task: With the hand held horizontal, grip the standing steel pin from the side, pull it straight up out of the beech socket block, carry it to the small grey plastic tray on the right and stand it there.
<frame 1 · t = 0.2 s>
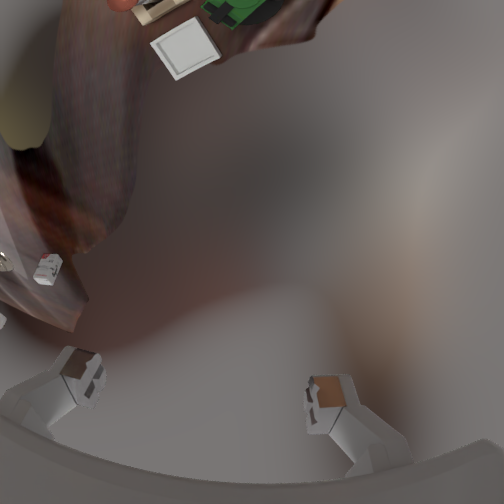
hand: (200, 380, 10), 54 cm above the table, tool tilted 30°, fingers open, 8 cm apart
tray: (187, 46, 43), on the table
lamp: (3, 258, 99), on the table
ink box: (53, 256, 96), on the table
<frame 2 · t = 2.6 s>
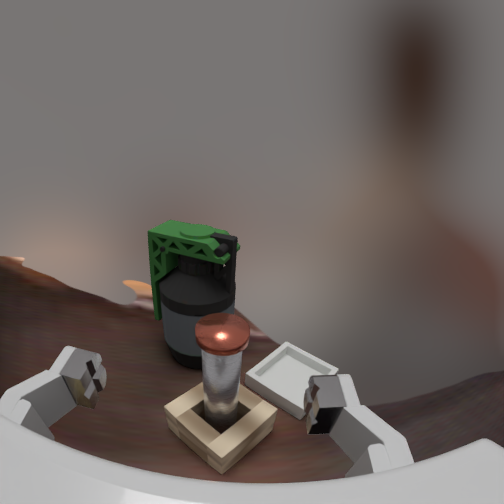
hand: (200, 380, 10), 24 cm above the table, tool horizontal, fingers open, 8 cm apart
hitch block: (220, 431, 31), on the table
grenade: (191, 347, 45), on the table
tray: (291, 383, 39), on the table
pin: (221, 391, 27), in the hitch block
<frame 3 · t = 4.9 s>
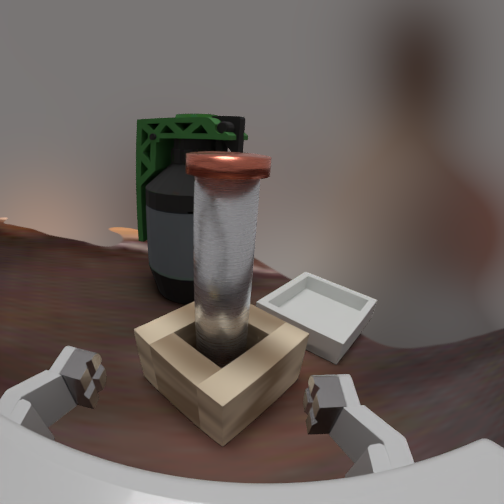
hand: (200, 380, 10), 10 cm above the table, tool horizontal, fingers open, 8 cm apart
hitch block: (220, 380, 22), on the table
grenade: (183, 283, 36), on the table
tray: (317, 321, 30), on the table
pin: (222, 292, 19), in the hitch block
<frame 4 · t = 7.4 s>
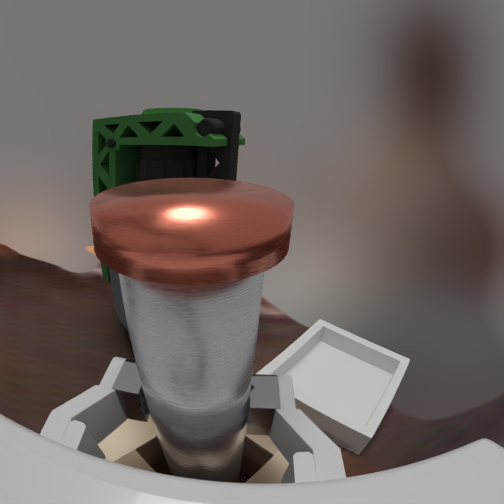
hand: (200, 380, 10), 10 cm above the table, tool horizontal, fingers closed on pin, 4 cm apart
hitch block: (207, 486, 13), on the table
grenade: (164, 330, 27), on the table
tray: (334, 389, 22), on the table
pin: (199, 420, 10), in the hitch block, touching gripper
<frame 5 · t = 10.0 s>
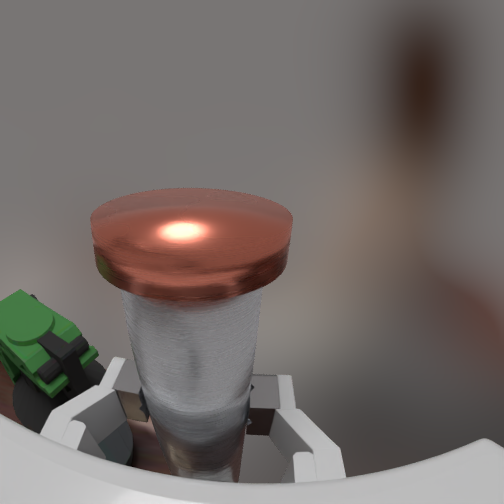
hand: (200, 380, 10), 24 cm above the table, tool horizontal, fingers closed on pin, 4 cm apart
grenade: (90, 447, 25), on the table
pin: (199, 424, 10), point 22 cm above the table, touching gripper
when the fingers open (12 cm above the table, at t = 12.6 s): pin stays where it is, resting on tray.
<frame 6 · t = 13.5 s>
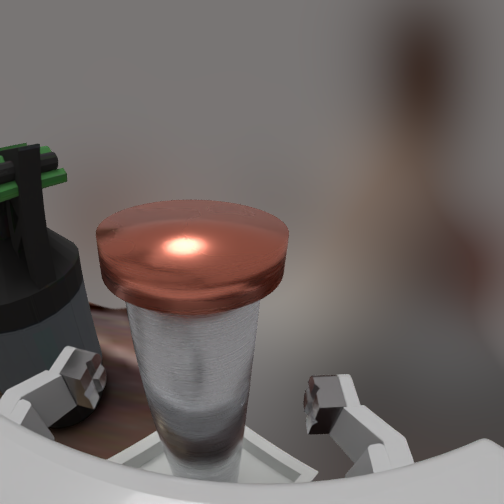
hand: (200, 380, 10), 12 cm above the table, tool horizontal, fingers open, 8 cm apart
grenade: (51, 382, 20), on the table
tray: (208, 490, 14), on the table
pin: (200, 425, 10), in the tray, point 9 cm above the table
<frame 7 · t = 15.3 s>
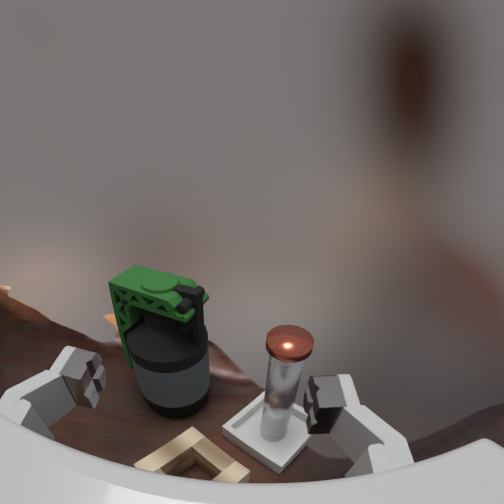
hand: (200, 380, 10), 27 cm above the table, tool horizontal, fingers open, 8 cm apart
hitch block: (195, 485, 26), on the table
grenade: (169, 392, 40), on the table
tray: (272, 433, 34), on the table
pin: (280, 394, 30), in the tray, point 9 cm above the table
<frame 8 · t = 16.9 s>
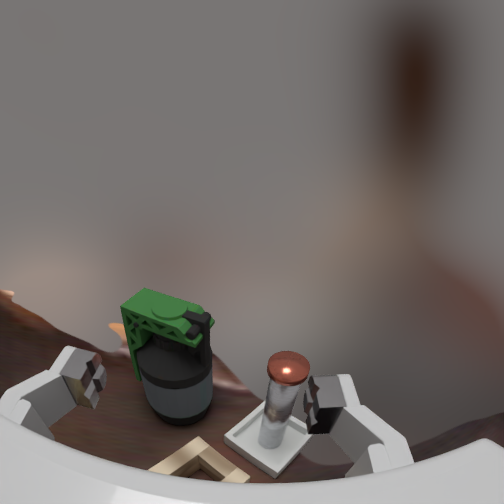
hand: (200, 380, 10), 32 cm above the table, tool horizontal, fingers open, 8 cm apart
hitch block: (199, 488, 28), on the table
grenade: (173, 401, 43), on the table
tray: (269, 441, 37), on the table
pin: (278, 409, 33), in the tray, point 9 cm above the table
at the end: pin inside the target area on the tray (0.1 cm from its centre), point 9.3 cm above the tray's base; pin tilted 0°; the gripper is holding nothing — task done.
